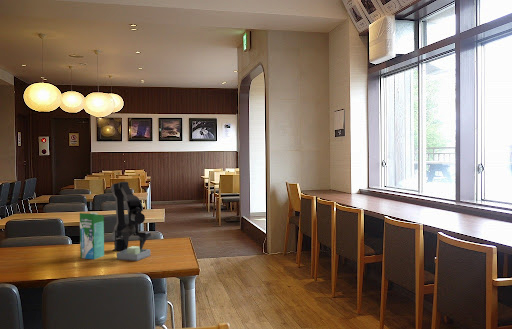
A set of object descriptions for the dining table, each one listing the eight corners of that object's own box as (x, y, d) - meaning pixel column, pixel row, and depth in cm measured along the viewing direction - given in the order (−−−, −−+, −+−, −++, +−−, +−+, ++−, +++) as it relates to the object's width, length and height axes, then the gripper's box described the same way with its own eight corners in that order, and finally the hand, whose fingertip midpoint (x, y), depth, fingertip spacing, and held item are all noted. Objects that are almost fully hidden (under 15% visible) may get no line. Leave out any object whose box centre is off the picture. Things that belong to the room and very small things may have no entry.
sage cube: (127, 256, 255) (127, 247, 255) (132, 254, 260) (132, 246, 260) (135, 257, 253) (134, 248, 253) (140, 255, 258) (140, 246, 258)
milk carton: (104, 255, 261) (103, 211, 260) (93, 259, 252) (93, 213, 251) (91, 254, 264) (90, 210, 263) (80, 258, 255) (79, 212, 254)
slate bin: (116, 259, 253) (116, 252, 253) (130, 253, 265) (130, 247, 265) (137, 261, 248) (137, 254, 248) (150, 255, 261) (150, 249, 260)
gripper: (109, 222, 251) (110, 251, 252) (139, 224, 245) (139, 253, 246) (122, 219, 262) (122, 247, 263) (151, 221, 256) (151, 249, 256)
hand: (133, 249), depth 257 cm, fingers open, 9 cm apart
